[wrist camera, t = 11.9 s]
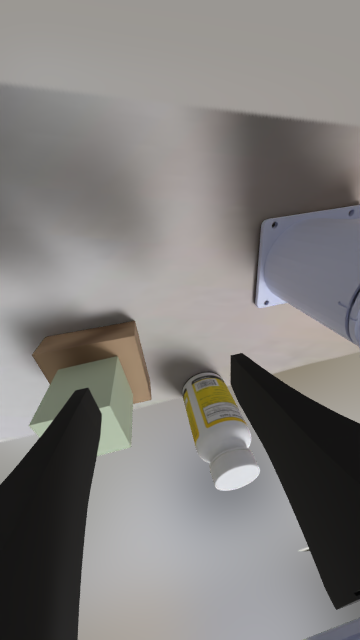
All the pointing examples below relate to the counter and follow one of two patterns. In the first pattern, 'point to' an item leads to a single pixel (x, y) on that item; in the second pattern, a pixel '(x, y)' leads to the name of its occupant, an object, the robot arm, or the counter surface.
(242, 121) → the counter surface
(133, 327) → the walnut block
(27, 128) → the counter surface
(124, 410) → the sage cube
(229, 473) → the supplement bottle
